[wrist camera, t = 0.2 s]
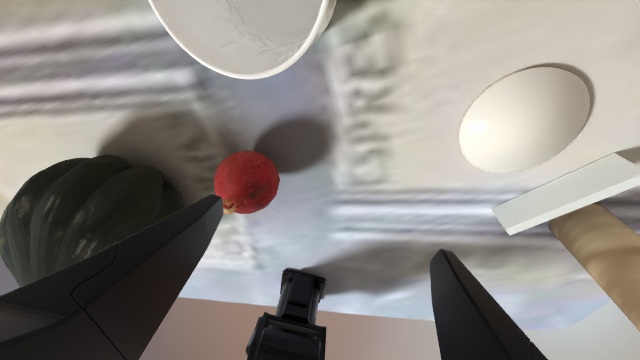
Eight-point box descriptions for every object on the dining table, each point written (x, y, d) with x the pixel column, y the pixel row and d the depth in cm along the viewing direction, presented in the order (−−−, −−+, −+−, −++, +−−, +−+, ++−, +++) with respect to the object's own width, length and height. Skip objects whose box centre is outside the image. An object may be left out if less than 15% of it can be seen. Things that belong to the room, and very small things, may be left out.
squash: (-11, 121, 21) (-112, 307, 18) (159, 153, 21) (91, 344, 18) (115, 167, 35) (72, 276, 31) (217, 186, 35) (186, 296, 32)
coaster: (535, 179, 23) (538, 181, 22) (440, 159, 23) (442, 162, 23) (618, 79, 18) (623, 81, 17) (494, 55, 18) (497, 56, 17)
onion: (278, 133, 24) (247, 178, 17) (293, 181, 27) (271, 235, 20) (226, 141, 25) (178, 185, 19) (246, 186, 28) (211, 237, 22)
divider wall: (495, 214, 26) (509, 235, 23) (490, 208, 25) (504, 229, 23) (617, 160, 21) (651, 180, 18) (613, 152, 20) (648, 171, 18)
